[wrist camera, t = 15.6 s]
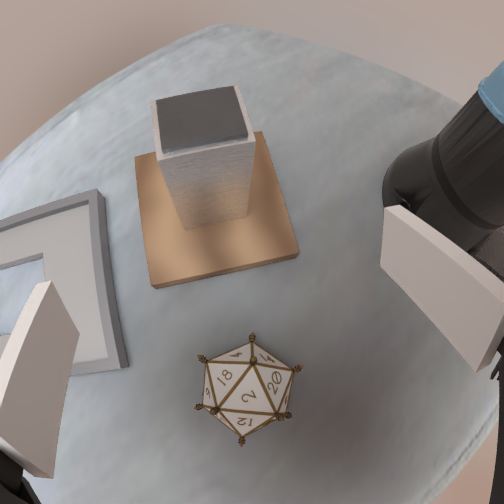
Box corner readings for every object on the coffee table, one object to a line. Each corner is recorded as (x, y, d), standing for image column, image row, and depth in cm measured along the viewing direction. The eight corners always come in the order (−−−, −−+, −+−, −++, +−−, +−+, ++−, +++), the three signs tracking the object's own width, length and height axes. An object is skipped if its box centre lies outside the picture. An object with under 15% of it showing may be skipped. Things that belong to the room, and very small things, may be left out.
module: (234, 172, 32) (238, 81, 20) (246, 217, 31) (256, 137, 18) (176, 184, 31) (149, 97, 19) (184, 230, 30) (155, 157, 18)
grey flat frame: (104, 198, 33) (96, 188, 30) (128, 366, 28) (120, 368, 26) (-40, 246, 30) (-51, 241, 27) (-31, 382, 25) (-43, 382, 23)
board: (260, 141, 36) (261, 131, 34) (295, 257, 32) (299, 252, 30) (138, 166, 34) (134, 157, 32) (156, 288, 31) (151, 285, 29)
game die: (237, 361, 33) (247, 294, 27) (304, 407, 29) (335, 349, 23) (175, 415, 27) (164, 357, 21) (246, 473, 23) (263, 437, 17)
